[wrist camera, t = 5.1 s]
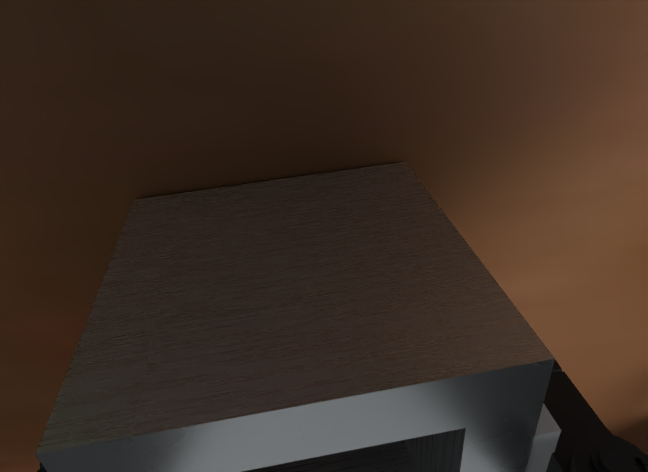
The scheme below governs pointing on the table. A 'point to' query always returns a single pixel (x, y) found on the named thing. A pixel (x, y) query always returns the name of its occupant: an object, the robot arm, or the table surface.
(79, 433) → the hollow grey square tube
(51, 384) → the table surface
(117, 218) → the table surface
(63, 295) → the table surface
